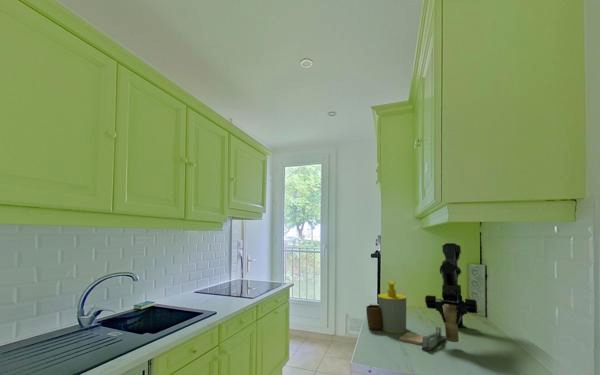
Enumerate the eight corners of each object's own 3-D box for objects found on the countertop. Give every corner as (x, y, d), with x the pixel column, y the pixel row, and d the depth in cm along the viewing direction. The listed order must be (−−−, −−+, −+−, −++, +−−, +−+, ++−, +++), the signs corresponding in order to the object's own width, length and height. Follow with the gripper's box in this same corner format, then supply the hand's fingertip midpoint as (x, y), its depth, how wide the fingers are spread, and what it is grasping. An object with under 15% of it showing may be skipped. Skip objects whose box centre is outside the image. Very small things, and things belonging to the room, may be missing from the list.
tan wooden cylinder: (444, 337, 121) (441, 303, 123) (455, 338, 121) (453, 303, 123) (448, 341, 117) (446, 306, 119) (460, 342, 117) (458, 306, 118)
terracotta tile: (407, 334, 134) (407, 332, 135) (429, 339, 129) (428, 336, 129) (399, 340, 128) (399, 337, 128) (421, 345, 122) (421, 342, 122)
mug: (364, 323, 152) (362, 303, 153) (379, 322, 152) (377, 302, 153) (370, 330, 140) (368, 309, 141) (386, 329, 140) (384, 307, 142)
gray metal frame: (437, 337, 131) (437, 326, 132) (446, 339, 129) (445, 327, 129) (422, 350, 117) (421, 337, 117) (431, 352, 115) (430, 339, 115)
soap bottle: (380, 332, 138) (378, 283, 141) (378, 323, 151) (376, 279, 154) (410, 333, 136) (407, 284, 139) (405, 325, 148) (403, 280, 151)
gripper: (424, 275, 130) (422, 308, 119) (474, 278, 121) (477, 314, 110) (427, 291, 136) (426, 324, 125) (475, 295, 127) (478, 331, 116)
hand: (450, 323), depth 119 cm, fingers closed on tan wooden cylinder, 4 cm apart
